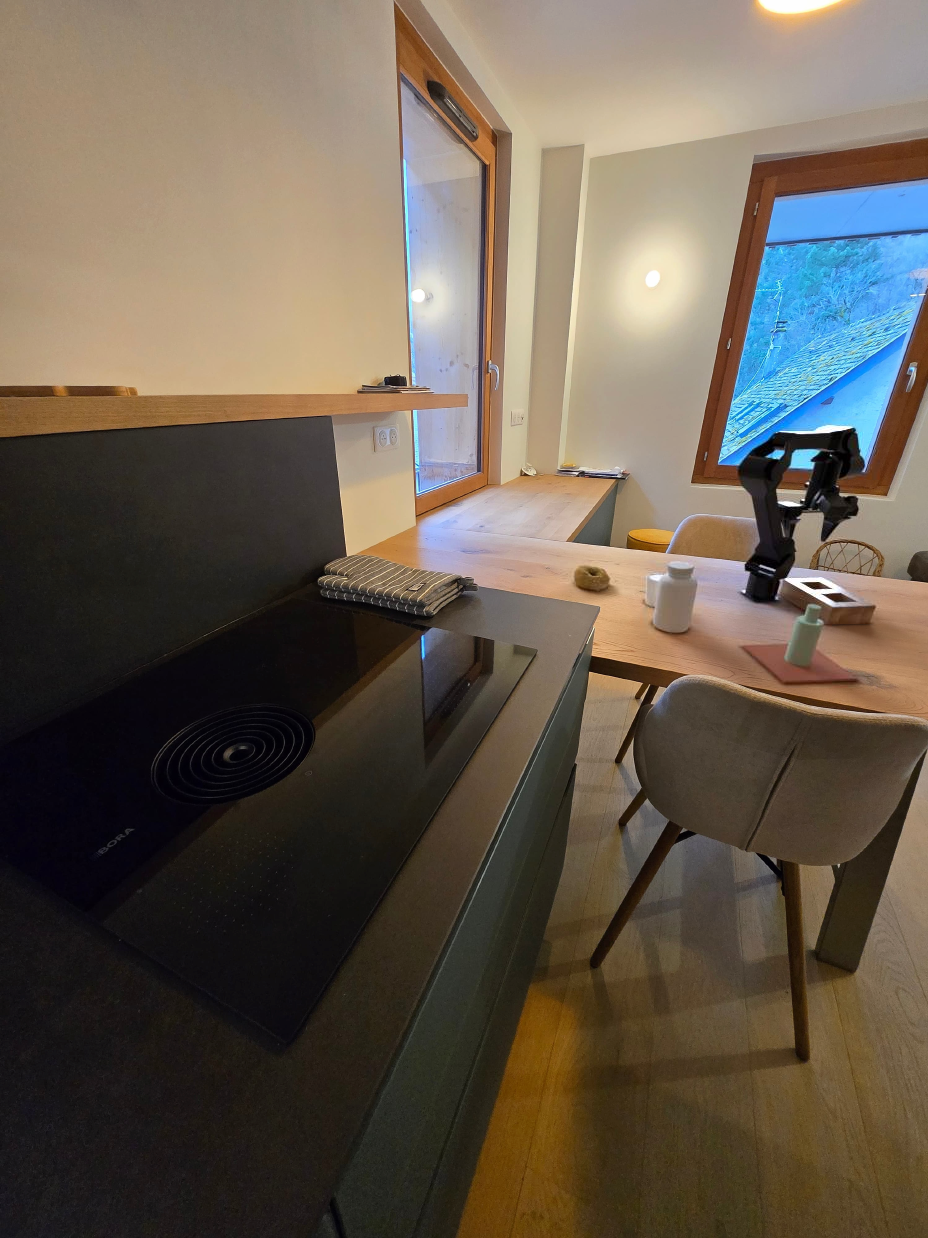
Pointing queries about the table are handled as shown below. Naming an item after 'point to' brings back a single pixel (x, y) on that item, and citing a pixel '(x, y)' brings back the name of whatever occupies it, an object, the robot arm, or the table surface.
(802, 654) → the bottle
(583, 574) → the bagel
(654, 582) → the white short cylinder
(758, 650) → the mat
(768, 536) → the robot arm
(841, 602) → the holder
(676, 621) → the pill bottle
